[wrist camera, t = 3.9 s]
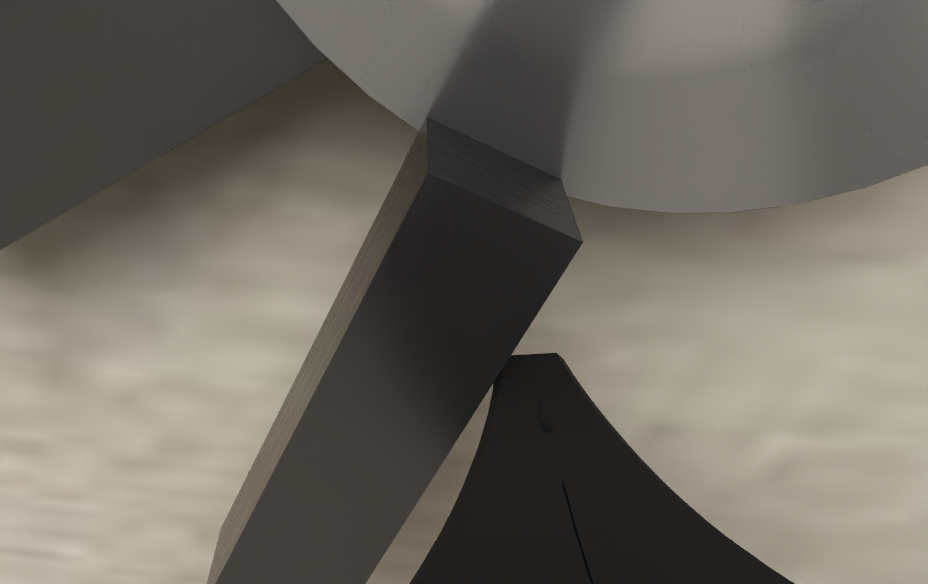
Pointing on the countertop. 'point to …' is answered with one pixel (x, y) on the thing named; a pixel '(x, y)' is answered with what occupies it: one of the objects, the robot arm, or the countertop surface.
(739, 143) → the lid
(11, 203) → the pot
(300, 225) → the countertop surface
